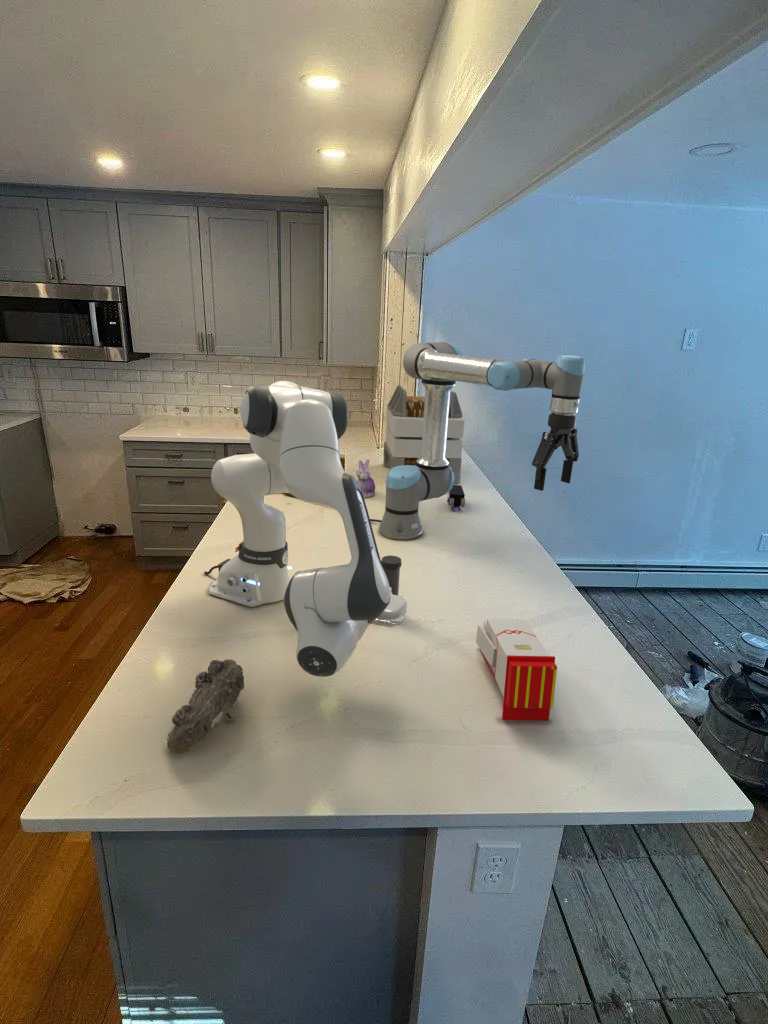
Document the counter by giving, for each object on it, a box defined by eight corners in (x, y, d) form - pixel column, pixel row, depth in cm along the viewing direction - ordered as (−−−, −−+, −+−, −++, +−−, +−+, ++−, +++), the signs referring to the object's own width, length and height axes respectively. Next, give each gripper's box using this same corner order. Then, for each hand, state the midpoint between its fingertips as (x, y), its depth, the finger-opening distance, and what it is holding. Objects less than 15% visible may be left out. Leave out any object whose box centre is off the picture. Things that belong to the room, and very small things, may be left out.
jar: (380, 607, 150) (382, 556, 145) (397, 608, 150) (400, 557, 145) (379, 616, 146) (382, 564, 141) (397, 617, 146) (400, 565, 141)
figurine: (360, 499, 233) (361, 464, 228) (349, 492, 242) (350, 458, 237) (380, 497, 237) (381, 462, 232) (369, 490, 246) (370, 456, 241)
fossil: (192, 660, 117) (244, 628, 112) (224, 691, 120) (276, 661, 115) (142, 746, 98) (202, 712, 93) (182, 779, 101) (242, 748, 96)
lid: (381, 560, 146) (381, 554, 145) (401, 561, 146) (401, 555, 145) (380, 569, 141) (380, 563, 140) (401, 570, 141) (401, 564, 140)
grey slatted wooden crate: (382, 463, 289) (386, 382, 275) (445, 464, 293) (451, 384, 279) (390, 482, 257) (394, 392, 243) (460, 483, 261) (468, 394, 247)
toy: (523, 604, 135) (566, 662, 106) (518, 656, 138) (559, 727, 109) (472, 603, 135) (501, 661, 105) (468, 655, 138) (496, 726, 108)
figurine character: (465, 515, 224) (460, 499, 237) (467, 498, 221) (462, 483, 234) (448, 515, 224) (444, 499, 237) (450, 498, 220) (445, 482, 234)
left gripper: (399, 612, 106) (415, 580, 119) (297, 594, 111) (323, 566, 123) (397, 641, 108) (413, 607, 121) (298, 623, 113) (323, 592, 125)
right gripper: (548, 419, 148) (537, 496, 155) (598, 411, 163) (586, 482, 171) (525, 414, 153) (515, 489, 160) (575, 407, 169) (564, 476, 176)
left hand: (367, 586), depth 122 cm, fingers open, 8 cm apart
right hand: (552, 485), depth 166 cm, fingers open, 13 cm apart
